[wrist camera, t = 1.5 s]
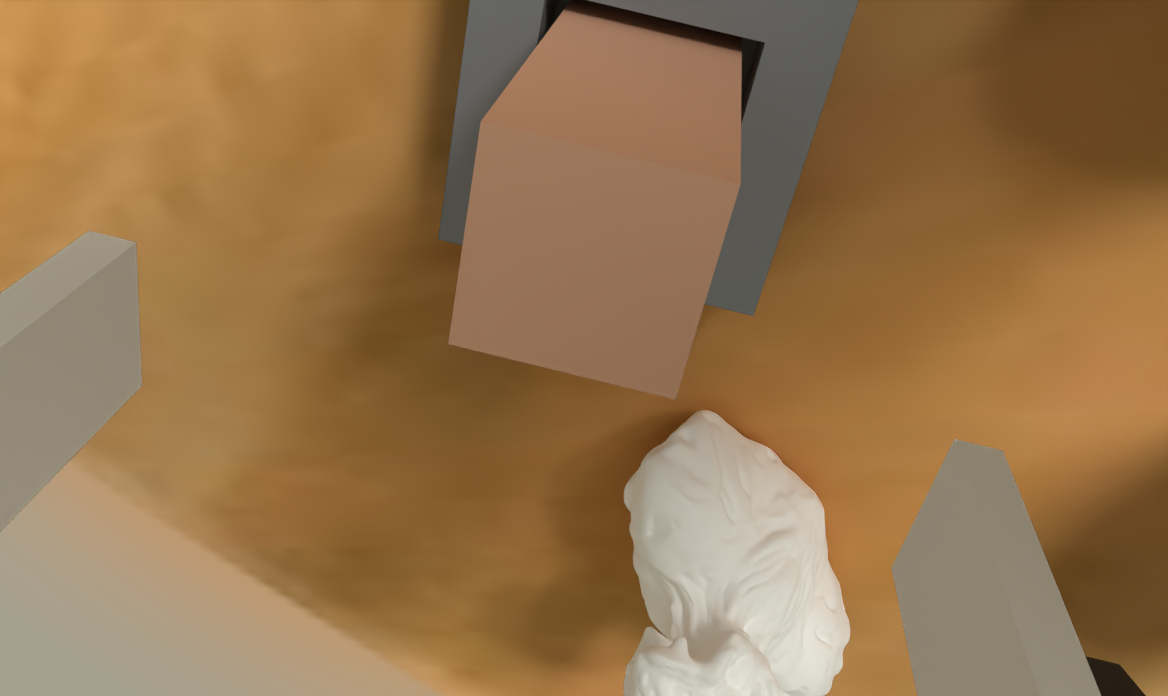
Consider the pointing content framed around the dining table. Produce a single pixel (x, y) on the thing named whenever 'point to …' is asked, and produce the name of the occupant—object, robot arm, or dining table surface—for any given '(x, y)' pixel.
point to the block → (603, 199)
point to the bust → (731, 571)
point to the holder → (768, 108)
